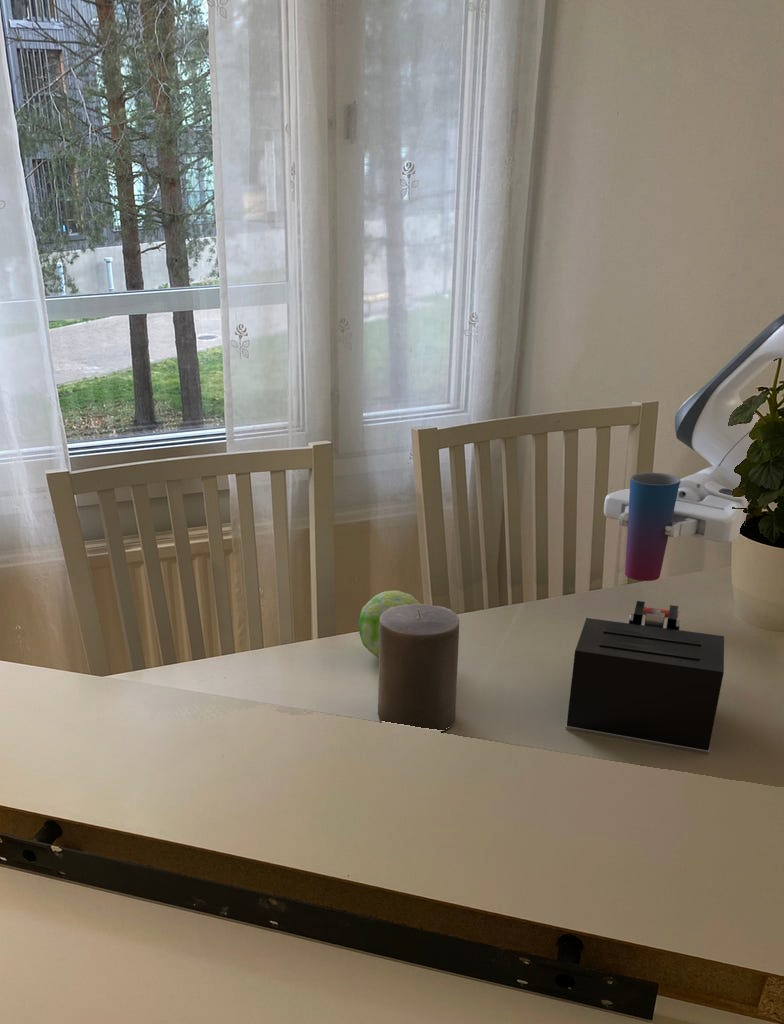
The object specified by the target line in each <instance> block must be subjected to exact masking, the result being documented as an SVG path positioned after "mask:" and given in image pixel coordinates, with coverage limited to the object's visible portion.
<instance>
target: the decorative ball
mask: <svg viewBox="0 0 784 1024" xmlns="http://www.w3.org/2000/svg"><path fill="white" fill-rule="evenodd" d="M408 604H411V605H412V604H421V603H420V601H418V600H417V598H415V597H414V596H413V595H412V594H410V593H406V592H403V591H400V590H385V591H381V592H380V593H377V594H376V595H374V596H373V597H372V598H371V599H370V600H369V601H367V602H366V604H365V605H363V607H362V608H361V611H360V615H359V621H358V631H359V636H360V639H361V642H362V645H363V647H365V649H366V650H368V651H369V652H370V653H371V654H372V655H373V656H375V657H376V658H379V628H380V616H381V615H382V614H383V612H385V611H387V609H388V608H390V607H396V606H401V605H408Z"/></svg>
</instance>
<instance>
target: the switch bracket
mask: <svg viewBox="0 0 784 1024" xmlns="http://www.w3.org/2000/svg"><path fill="white" fill-rule="evenodd" d="M645 605H646V601H641V600H636V602H635V607H634V612H633V614H632V613H630V615H629V619H628V623H629V624H637V625H643V620H644V615H643V613H644V607H646V606H645ZM668 610H669V614H668V618H667V622H666V627H665V628H667V629H674V630H680V628H681V621H682V620H678V619H677V613H678V611H679V605H672V604H669V608H668ZM678 614H679V613H678Z"/></svg>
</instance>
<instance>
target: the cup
mask: <svg viewBox="0 0 784 1024" xmlns="http://www.w3.org/2000/svg"><path fill="white" fill-rule="evenodd" d="M629 479H630V481H629V489H630V495H629V512H628V527H627V531H626V532H627V534H626V546H625V547H626V549H625V566H624V568H625V569H624V575H625V576H626V577H627V578H629V579H632V580H634V581H641V582H652V581H656V580H658V579H660V577H661V572H662V568H663V564H664V560H665V554H666V551H667V545H668V541H669V536H665V535H664V532H665V531H666V530H665V526H666V525H667V524H669V523H671V522H672V517H673V512H674V508H675V503H676V498H677V494H678V489H679V484H680V479H681V478H679V477H678V476H677V475H676V476H675V475H673V474H669V473H664V472H663V473H662V472H638V473H634V474H632V475H631V476H630V478H629Z"/></svg>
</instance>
